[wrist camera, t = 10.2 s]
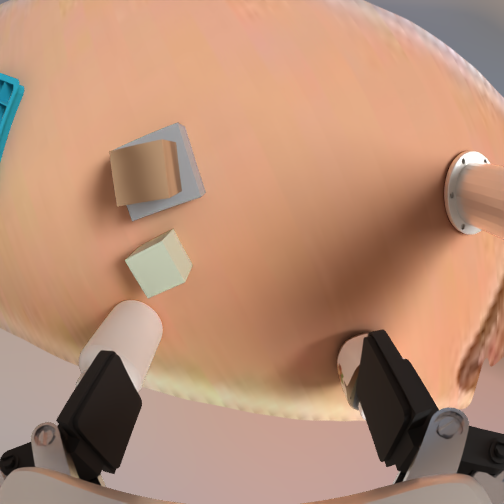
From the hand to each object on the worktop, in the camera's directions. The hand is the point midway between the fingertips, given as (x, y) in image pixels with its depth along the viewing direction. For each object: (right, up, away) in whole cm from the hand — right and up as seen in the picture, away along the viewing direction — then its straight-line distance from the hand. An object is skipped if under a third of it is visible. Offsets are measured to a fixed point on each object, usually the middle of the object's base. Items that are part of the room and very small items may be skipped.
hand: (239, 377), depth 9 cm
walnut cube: (-9, +13, +17) cm, 23 cm away
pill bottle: (-16, -5, +27) cm, 31 cm away
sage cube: (-10, +4, +23) cm, 26 cm away
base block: (-10, +14, +20) cm, 27 cm away
